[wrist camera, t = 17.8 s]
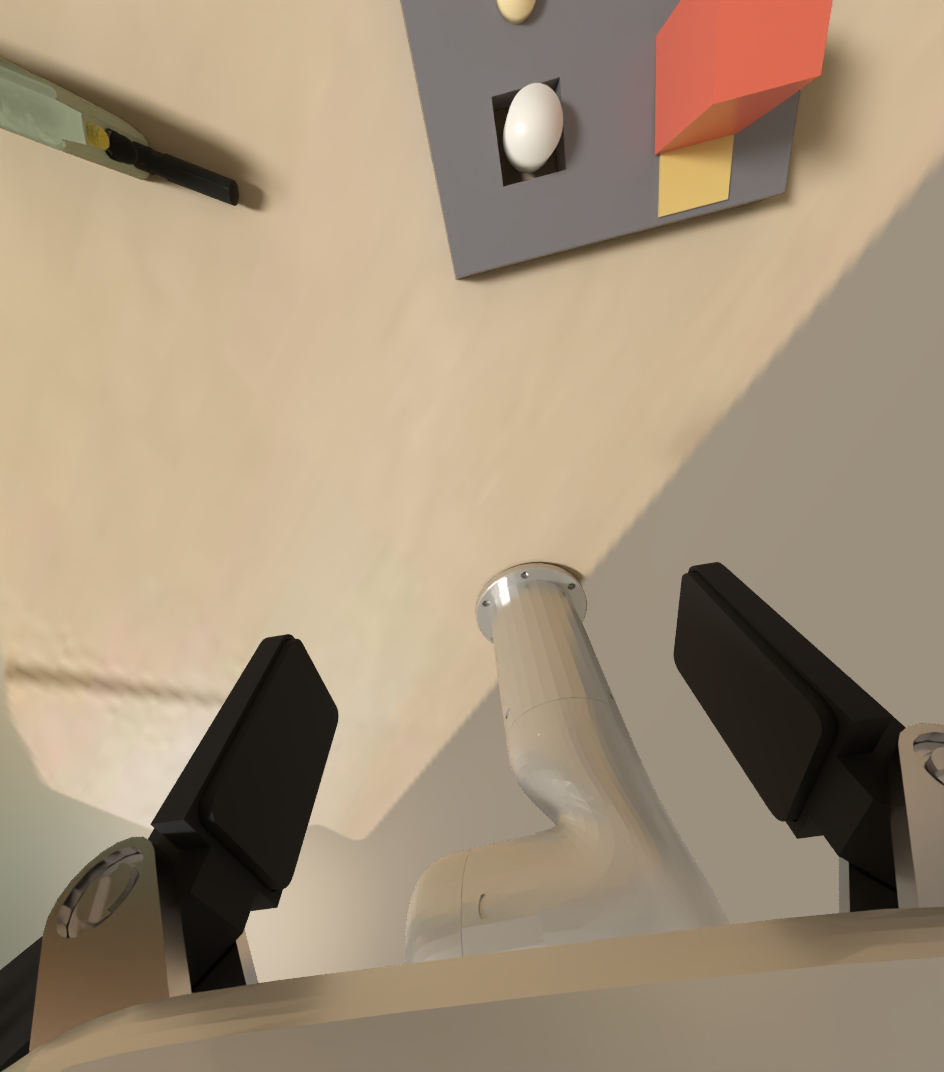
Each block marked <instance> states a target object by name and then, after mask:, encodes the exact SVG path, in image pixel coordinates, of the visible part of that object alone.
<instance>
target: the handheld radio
mask: <svg viewBox="0 0 944 1072" xmlns="http://www.w3.org/2000/svg"><path fill="white" fill-rule="evenodd" d="M0 128H2V129H4V130H7V131H10V132H12V133H15V134H17V135H20V136H23V137H25V138H28V139H31V140H33V141H36V142H39V143H41V144H44V145H47V146H49V147H52V148H55V149H58V150H61V151H63V152H66V153H68V154H71V155H74V156H77V157H80V158H82V159H85V160H88V161H91V162H94V163H96V164H99V165H102V166H105V167H107V168H110V169H113V170H116V171H119V172H121V173H124V174H127V175H130V176H133V177H135V178H138V179H141V180H143V179H146V178H148V177H149V173H150V174H152V175H155V174H156V175H159V176H161V177H164V178H166V179H167V180H168V181H171V182H173V183H176V184H179V185H181V186H184V187H186V188H189V189H192V190H194V191H197V192H199V193H202V194H205V195H207V196H210V197H213V198H215V199H218V200H220V201H223V202H226V203H228V204H231V205H234V206H236V205H237V203H238V199H239V192H238V186H237V184H236V182H235V181H234V180H232V179H229V178H227V177H224V176H221V175H219V174H216V173H214V172H211V171H209V170H206V169H204V168H201V167H199V166H196V165H194V164H191V163H188V162H186V161H183V160H181V159H178V158H176V157H173V156H171V155H168V154H162V153H159V152H157V151H154V150H153V149H152V148H150V147H149V143H148V142H147V140H146V139H145V137H144V136H143V135H142V134H141V133H140V132H139V131H138V130H136V129H135V128H133V127H132V126H131V125H129V124H128V123H127V122H125V121H124V120H122V119H121V118H119V117H117V116H115V115H114V114H112V113H110V112H108V111H106V110H104V109H102V108H100V107H98V106H96V105H94V104H93V103H91V102H89V101H87V100H85V99H83V98H81V97H79V96H77V95H75V94H73V93H71V92H69V91H68V90H66V89H64V88H62V87H60V86H58V85H56V84H54V83H52V82H50V81H49V80H47V79H44V78H41V77H39V76H37V75H35V74H33V73H31V72H29V71H27V70H26V69H24V68H22V67H20V66H18V65H16V64H14V63H12V62H10V61H8V60H6V59H4V58H2V57H0Z"/></svg>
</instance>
